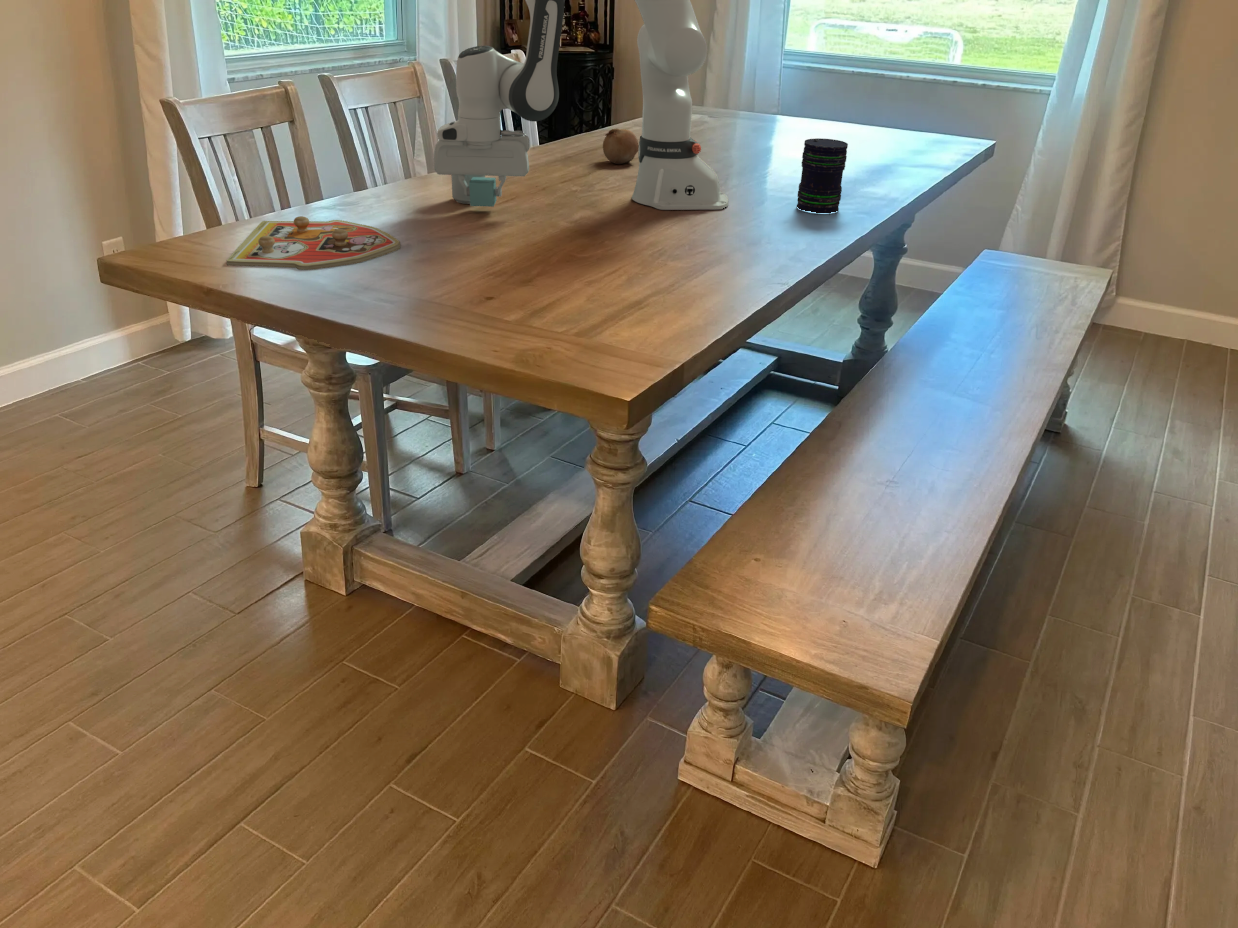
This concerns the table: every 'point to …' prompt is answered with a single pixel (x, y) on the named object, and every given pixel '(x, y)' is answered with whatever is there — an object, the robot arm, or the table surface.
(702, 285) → the table surface
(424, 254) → the table surface
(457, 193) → the can
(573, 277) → the table surface
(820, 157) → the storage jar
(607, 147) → the onion
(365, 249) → the knob puzzle
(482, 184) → the teal block
